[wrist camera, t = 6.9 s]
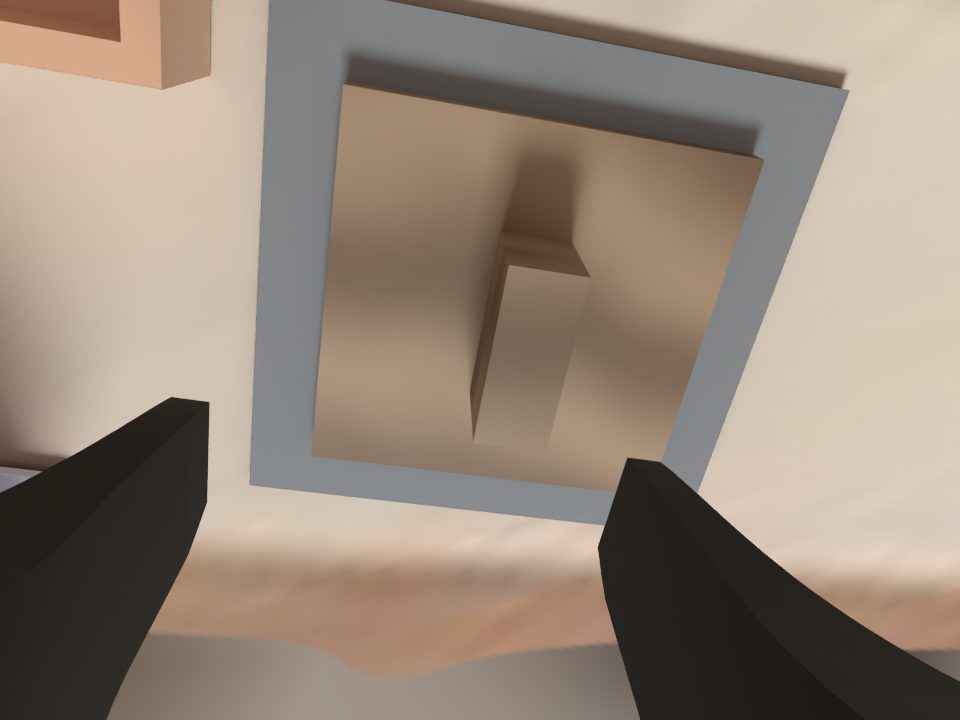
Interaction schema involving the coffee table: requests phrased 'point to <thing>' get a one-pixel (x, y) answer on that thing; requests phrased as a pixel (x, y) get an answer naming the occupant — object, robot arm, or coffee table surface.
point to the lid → (515, 288)
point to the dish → (110, 39)
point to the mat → (527, 89)
